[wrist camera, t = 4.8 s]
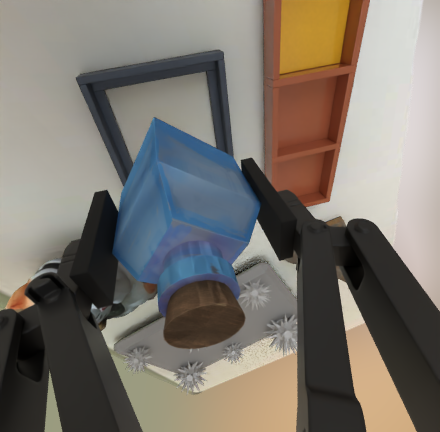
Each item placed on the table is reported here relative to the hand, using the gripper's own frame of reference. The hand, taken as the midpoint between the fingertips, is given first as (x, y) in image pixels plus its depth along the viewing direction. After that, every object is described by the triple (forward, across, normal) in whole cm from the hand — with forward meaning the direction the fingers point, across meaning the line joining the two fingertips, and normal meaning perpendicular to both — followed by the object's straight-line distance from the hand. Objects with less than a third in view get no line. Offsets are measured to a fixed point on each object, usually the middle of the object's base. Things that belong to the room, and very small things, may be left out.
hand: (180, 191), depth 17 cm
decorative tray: (+13, 0, -43) cm, 45 cm away
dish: (+13, +16, -2) cm, 21 cm away
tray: (+13, 0, 0) cm, 13 cm away
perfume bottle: (+3, 0, 0) cm, 3 cm away
